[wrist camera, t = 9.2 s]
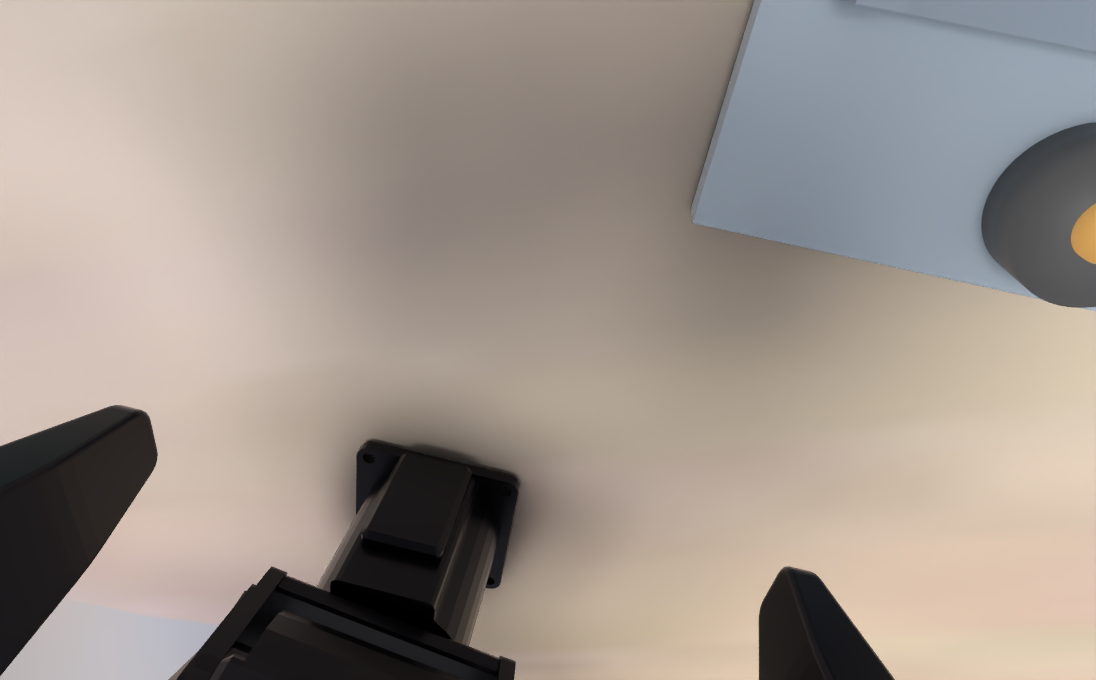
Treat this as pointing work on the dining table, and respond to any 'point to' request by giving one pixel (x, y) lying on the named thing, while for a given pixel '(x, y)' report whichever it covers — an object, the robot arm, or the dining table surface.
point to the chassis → (917, 139)
